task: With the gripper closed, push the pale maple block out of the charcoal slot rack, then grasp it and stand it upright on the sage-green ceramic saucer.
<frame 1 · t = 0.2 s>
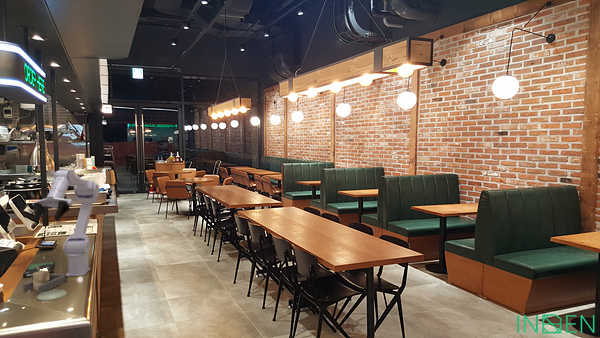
hand: (46, 220, 153), 31 cm above the counter, tool tilted 45°, fingers open, 7 cm apart
maple block: (41, 288, 163), on the counter
saucer: (52, 295, 156), on the counter
slot rack: (44, 287, 165), on the counter
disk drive: (39, 273, 183), on the counter
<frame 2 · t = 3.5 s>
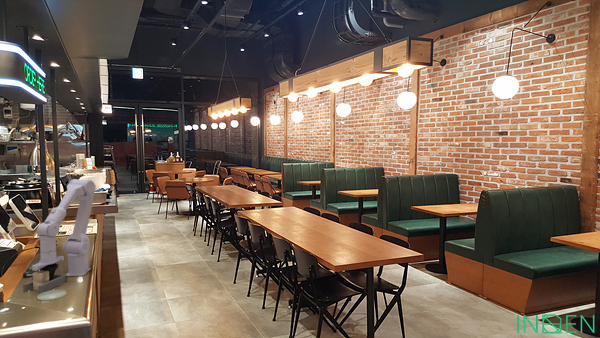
hand: (49, 281, 167), 1 cm above the counter, tool pointing down, fingers closed
maple block: (41, 288, 163), on the counter, touching gripper
everything else where it was.
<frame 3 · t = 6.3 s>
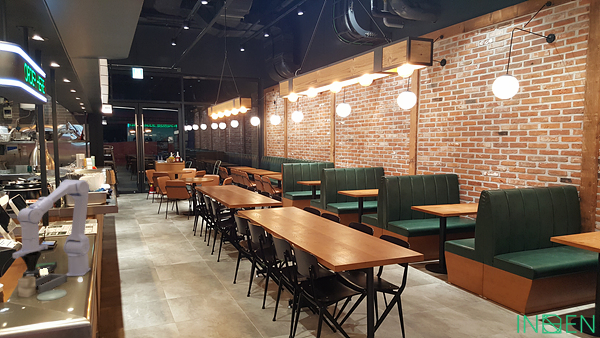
hand: (31, 270, 158), 9 cm above the counter, tool pointing down, fingers closed
maple block: (27, 294, 157), on the counter
everything else where it was.
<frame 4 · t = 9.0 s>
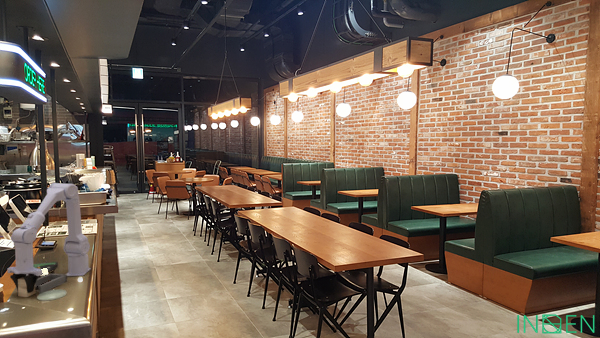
hand: (25, 291, 156), 2 cm above the counter, tool pointing down, fingers closed on maple block, 4 cm apart
maple block: (27, 294, 157), on the counter, touching gripper
everything else where it was.
when the fingers open (3 cm above the counter, at t = 12.8 s): maple block drops 1 cm, resting on saucer.
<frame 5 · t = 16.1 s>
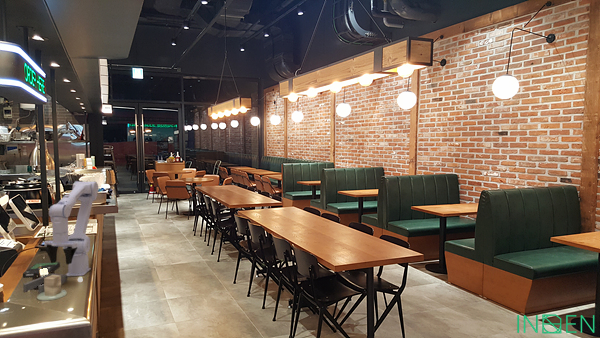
hand: (61, 263, 168), 9 cm above the counter, tool pointing down, fingers open, 7 cm apart
maple block: (53, 293, 157), point 1 cm above the counter, touching saucer
at the end: maple block 0.5 cm off-centre on the saucer, point 0.6 cm above the saucer's base; maple block tilted 0°; the gripper is holding nothing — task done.
